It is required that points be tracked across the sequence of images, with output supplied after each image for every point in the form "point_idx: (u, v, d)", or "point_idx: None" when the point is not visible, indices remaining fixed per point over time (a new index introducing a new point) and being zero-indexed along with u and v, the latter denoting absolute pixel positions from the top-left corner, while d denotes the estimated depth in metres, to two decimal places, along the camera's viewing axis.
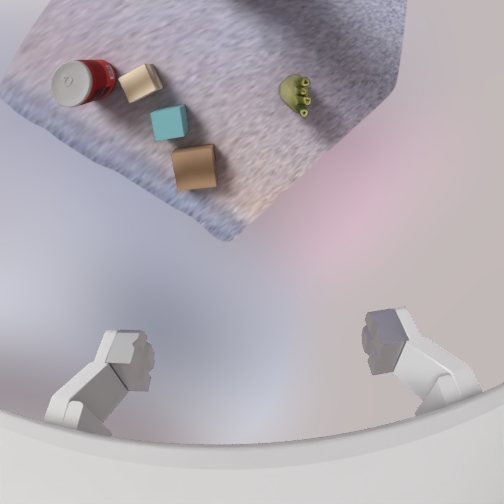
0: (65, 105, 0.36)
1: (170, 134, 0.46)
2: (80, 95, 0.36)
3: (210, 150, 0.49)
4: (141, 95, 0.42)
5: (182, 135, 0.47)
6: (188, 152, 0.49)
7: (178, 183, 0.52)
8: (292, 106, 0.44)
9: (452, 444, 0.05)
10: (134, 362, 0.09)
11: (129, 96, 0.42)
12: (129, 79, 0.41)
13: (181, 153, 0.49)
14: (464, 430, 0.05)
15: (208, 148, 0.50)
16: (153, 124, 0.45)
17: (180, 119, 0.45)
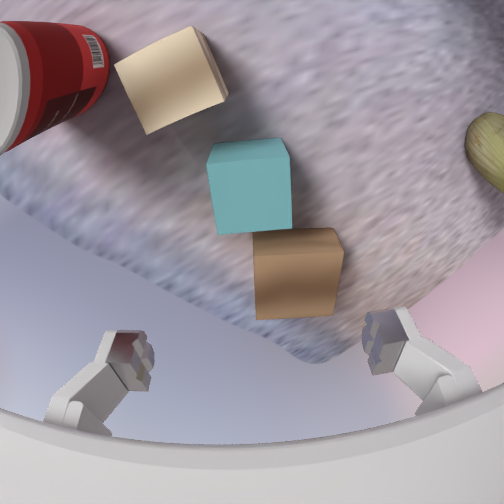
0: None
1: (258, 221, 0.20)
2: (0, 125, 0.10)
3: (341, 255, 0.23)
4: (181, 114, 0.16)
5: (288, 226, 0.20)
6: (293, 255, 0.23)
7: (259, 308, 0.26)
8: None
9: (452, 444, 0.05)
10: (134, 362, 0.09)
11: (145, 115, 0.16)
12: (147, 68, 0.14)
13: (277, 256, 0.23)
14: (464, 430, 0.05)
15: (335, 248, 0.24)
16: (214, 195, 0.19)
17: (288, 187, 0.19)
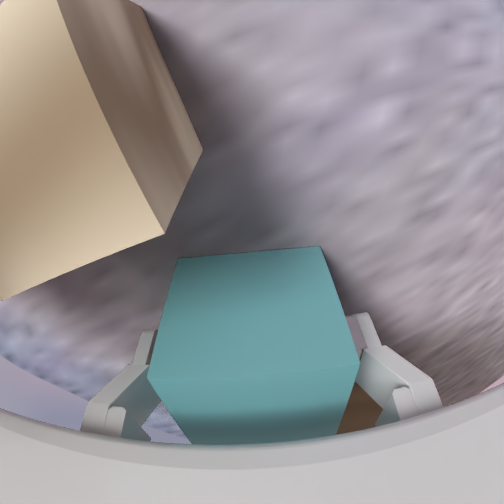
0: None
1: (271, 439, 0.09)
2: None
3: None
4: (49, 267, 0.05)
5: None
6: None
7: None
8: None
9: (452, 444, 0.05)
10: None
11: None
12: None
13: None
14: (464, 430, 0.05)
15: None
16: (179, 416, 0.08)
17: (341, 403, 0.08)
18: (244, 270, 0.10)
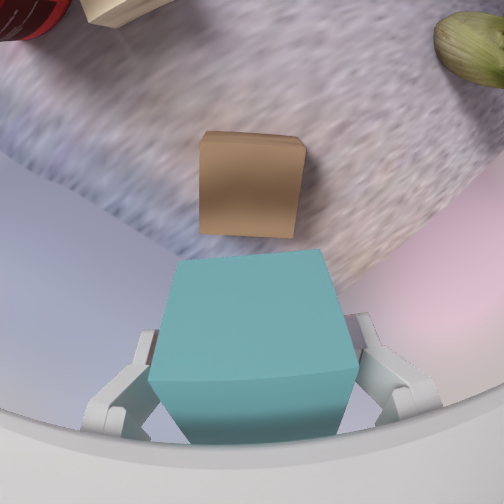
0: None
1: (271, 441, 0.09)
2: None
3: (302, 152, 0.20)
4: (119, 0, 0.12)
5: None
6: (246, 145, 0.19)
7: (204, 217, 0.22)
8: (484, 71, 0.13)
9: (452, 444, 0.05)
10: None
11: (89, 6, 0.12)
12: None
13: (227, 145, 0.19)
14: (464, 430, 0.05)
15: (296, 146, 0.20)
16: (179, 418, 0.08)
17: (341, 406, 0.08)
18: (244, 273, 0.10)
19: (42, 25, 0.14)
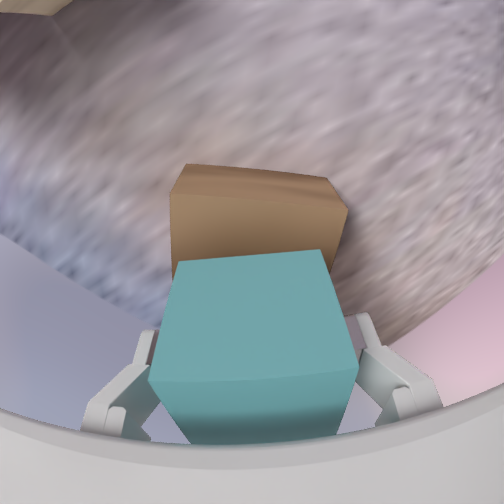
0: None
1: (271, 441, 0.09)
2: None
3: (342, 215, 0.12)
4: None
5: None
6: (249, 202, 0.12)
7: None
8: None
9: (452, 444, 0.05)
10: None
11: None
12: None
13: (216, 200, 0.11)
14: (464, 430, 0.05)
15: (331, 202, 0.12)
16: (179, 418, 0.08)
17: (341, 406, 0.08)
18: (244, 273, 0.10)
19: None
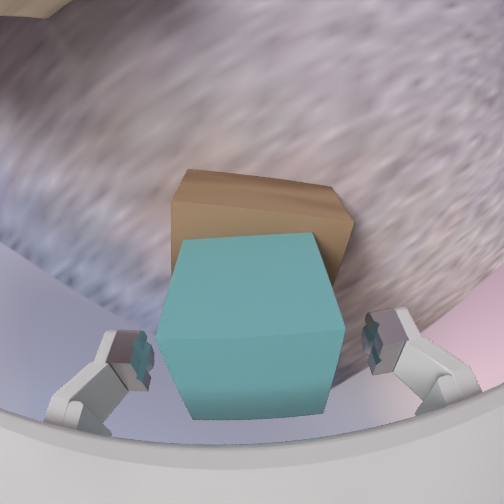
0: None
1: (264, 410, 0.10)
2: None
3: (348, 227, 0.12)
4: None
5: (318, 412, 0.10)
6: (253, 212, 0.11)
7: None
8: None
9: (452, 444, 0.05)
10: (134, 362, 0.09)
11: None
12: None
13: (219, 209, 0.11)
14: (464, 430, 0.05)
15: (337, 214, 0.12)
16: (180, 381, 0.09)
17: (329, 371, 0.09)
18: (243, 250, 0.11)
19: None
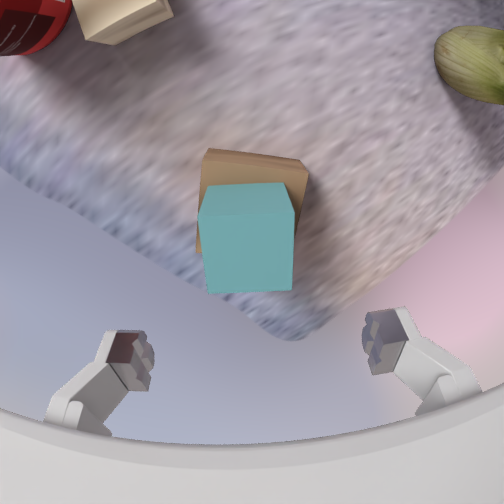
0: None
1: (254, 281, 0.18)
2: None
3: (305, 177, 0.20)
4: (117, 17, 0.13)
5: (288, 287, 0.18)
6: (248, 167, 0.19)
7: None
8: (485, 87, 0.14)
9: (452, 444, 0.05)
10: (134, 362, 0.09)
11: (86, 23, 0.13)
12: None
13: (229, 165, 0.19)
14: (464, 430, 0.05)
15: (299, 170, 0.20)
16: (206, 251, 0.17)
17: (290, 246, 0.17)
18: (243, 188, 0.19)
19: (40, 40, 0.14)
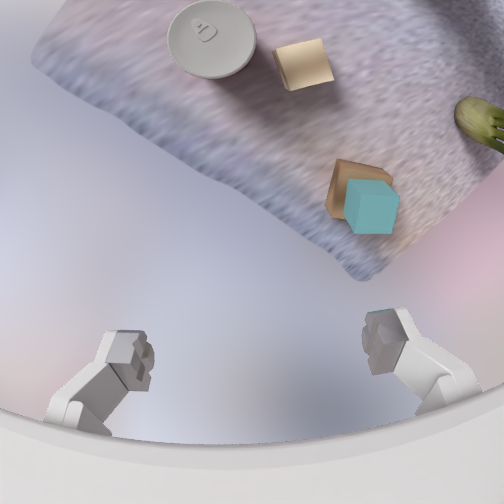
0: (197, 73, 0.23)
1: (376, 228, 0.34)
2: (231, 60, 0.22)
3: (391, 179, 0.36)
4: (311, 83, 0.29)
5: (390, 232, 0.35)
6: (366, 172, 0.36)
7: (336, 208, 0.38)
8: (480, 136, 0.30)
9: (452, 444, 0.05)
10: (134, 362, 0.09)
11: (291, 80, 0.28)
12: (295, 55, 0.27)
13: (358, 171, 0.35)
14: (464, 430, 0.05)
15: (387, 175, 0.36)
16: (360, 211, 0.33)
17: (395, 212, 0.33)
18: (368, 182, 0.35)
19: None
